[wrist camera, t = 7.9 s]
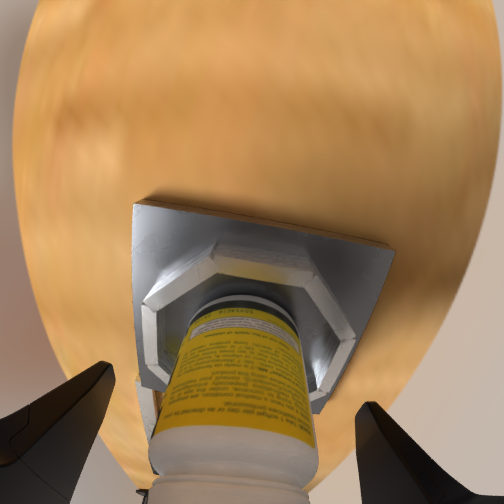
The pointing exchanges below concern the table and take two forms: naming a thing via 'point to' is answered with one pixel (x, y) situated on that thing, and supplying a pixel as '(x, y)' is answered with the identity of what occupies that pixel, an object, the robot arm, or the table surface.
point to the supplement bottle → (236, 411)
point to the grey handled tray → (248, 287)
